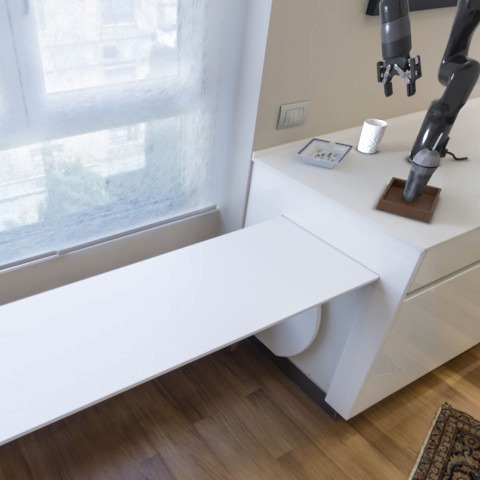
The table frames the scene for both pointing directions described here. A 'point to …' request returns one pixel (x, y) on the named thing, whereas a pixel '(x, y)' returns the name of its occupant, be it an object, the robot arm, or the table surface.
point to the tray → (414, 210)
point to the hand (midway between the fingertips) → (399, 95)
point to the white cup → (371, 135)
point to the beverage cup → (421, 172)
